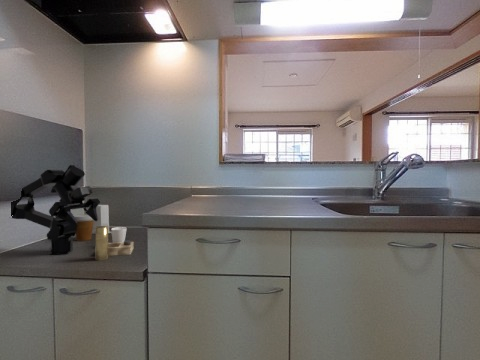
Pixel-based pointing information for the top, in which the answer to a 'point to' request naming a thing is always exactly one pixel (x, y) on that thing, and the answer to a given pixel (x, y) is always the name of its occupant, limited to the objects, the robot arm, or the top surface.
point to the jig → (120, 248)
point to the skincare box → (101, 217)
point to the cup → (118, 234)
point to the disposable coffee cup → (84, 227)
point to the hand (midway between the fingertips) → (87, 222)
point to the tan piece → (101, 242)
